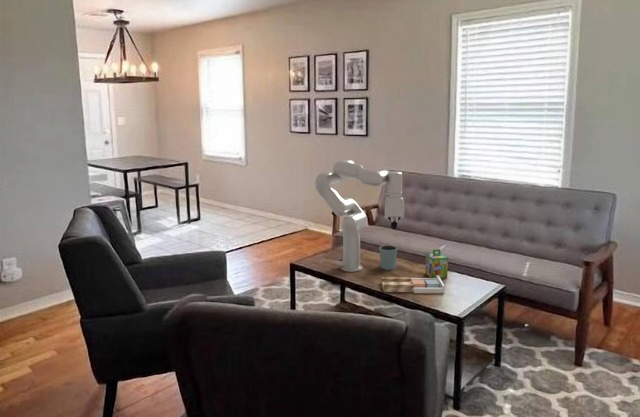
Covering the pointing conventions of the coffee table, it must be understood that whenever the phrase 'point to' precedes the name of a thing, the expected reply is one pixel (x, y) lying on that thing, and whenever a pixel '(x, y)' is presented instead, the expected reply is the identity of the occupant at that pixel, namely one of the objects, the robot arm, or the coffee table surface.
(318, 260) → the coffee table surface
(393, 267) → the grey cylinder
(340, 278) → the coffee table surface
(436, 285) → the tile
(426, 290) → the white u-shaped bracket
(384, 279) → the wooden tray
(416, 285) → the tile
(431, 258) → the chalk box
